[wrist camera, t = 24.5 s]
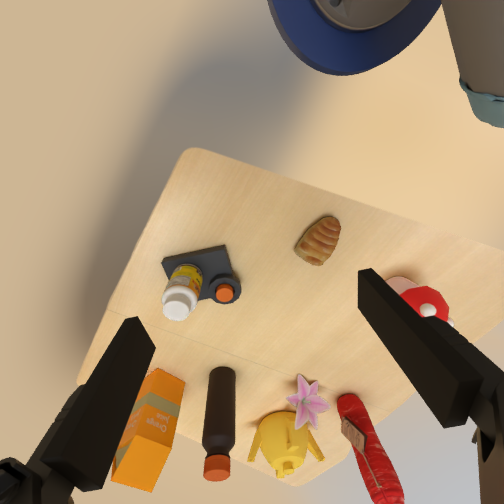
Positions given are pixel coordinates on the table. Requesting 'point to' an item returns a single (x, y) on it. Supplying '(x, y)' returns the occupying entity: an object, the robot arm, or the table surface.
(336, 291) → the table surface
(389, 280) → the mushroom
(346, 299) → the table surface
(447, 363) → the robot arm
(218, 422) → the vinegar
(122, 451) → the orange juice
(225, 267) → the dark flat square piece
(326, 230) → the pastry
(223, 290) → the button
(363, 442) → the water bottle
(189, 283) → the supplement bottle
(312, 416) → the lily
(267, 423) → the teapot
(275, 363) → the table surface
